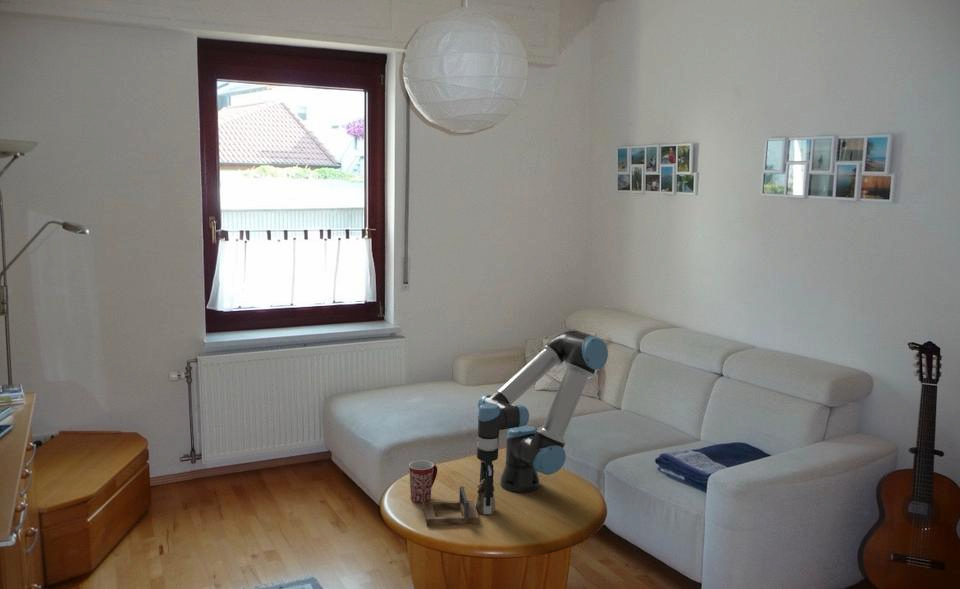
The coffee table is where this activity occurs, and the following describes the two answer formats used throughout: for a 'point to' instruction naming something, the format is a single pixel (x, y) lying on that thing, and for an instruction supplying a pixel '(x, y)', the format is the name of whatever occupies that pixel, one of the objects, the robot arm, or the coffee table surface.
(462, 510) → the wooden stand
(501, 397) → the robot arm
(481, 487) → the figurine
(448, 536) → the coffee table surface
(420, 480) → the mug
